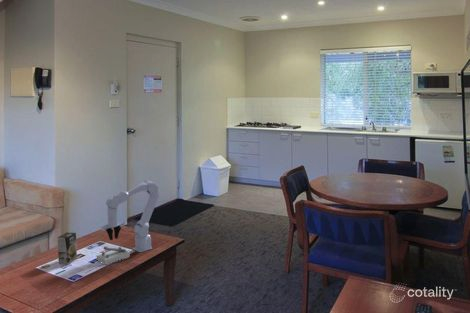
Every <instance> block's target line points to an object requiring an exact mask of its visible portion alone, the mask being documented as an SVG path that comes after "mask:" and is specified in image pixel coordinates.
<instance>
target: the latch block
mask: <svg viewBox="0 0 470 313" xmlns="http://www.w3.org/2000/svg"><path fill="white" fill-rule="evenodd" d="M118 249H123V251H111V250H108V251H107V252H101V253H100V254H97V255H96V261H97V260H98V261H97V262H99V261H100V262H99V263H101V262H102V263H101V264H103V263H104V264H103V265H105V264H108V265H110V264H109V263H111V264H113V263H112V262H114V263H116V262H119V261H122V260H124V259H125V260H126V259H128V258H130V257H131V255H130V254H131V253H130V251H128V250H126V249H125V248H122V247H118ZM121 259H122V260H121ZM118 260H119V261H118ZM115 261H116V262H115Z"/></svg>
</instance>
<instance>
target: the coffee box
mask: <svg viewBox="0 0 470 313" xmlns="http://www.w3.org/2000/svg"><path fill="white" fill-rule="evenodd" d="M77 247H78V246H77V232H64V233H63V234H61V235H59V236H57V254H58V256H57V257H58V264H60V265H70V264H71V263H72V262H74V261H75V260H77V259H78V252H77Z"/></svg>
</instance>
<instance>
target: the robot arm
mask: <svg viewBox="0 0 470 313" xmlns="http://www.w3.org/2000/svg"><path fill="white" fill-rule="evenodd" d="M140 192H146V193H147V195H148V196H149V197H148V199H147V202H146V204H145V207H144V210H143V211H142V214H141V217H140V220H138V221H137V223H136V224H135V225H134V226H133V232H134V233H135V235H134V238H135V239H134V240H135V241H134V242H135V247H134V248H132V250H134V251H136V252H138V253H143V252H146V251H148V250H152V249H153V247H152V237H151V234H149V228H150V225H149V222H150V219H151V218H152V214H153V212H154V210H155V207H156V205H157V202H158V199H159V186H158V184H157V183H156V182H154V181H152V180H144V181H142V182H141V183H140V184H138V185H136V186H135V187H132V188H131V189H129V190H128V191H125V190H121V191H120V193H118V194H116V195H113V197H109V198H107V199H106V201H105V204H106V206H107V224H106V225H104V226H101V231H103V232H104V231H105V232H106V233H107V235H108V237H109V238H108V239H109V240H110V241H113V239H118V238H119V234H120V231H121V230H122V227H121V226H125V224H126V223H125V221H119V213H118V212H119V211H118V208H119V205H121V204H122V203H124V202H127V201H128V200H129V199H130V197H132V196H134V195H136V194H138V193H140ZM113 233H114V238H113Z"/></svg>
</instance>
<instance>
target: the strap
mask: <svg viewBox="0 0 470 313" xmlns="http://www.w3.org/2000/svg"><path fill="white" fill-rule="evenodd" d="M123 249H124V248H121V249H119V248H115V247H108V246H103V250H106V251H123Z"/></svg>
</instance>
